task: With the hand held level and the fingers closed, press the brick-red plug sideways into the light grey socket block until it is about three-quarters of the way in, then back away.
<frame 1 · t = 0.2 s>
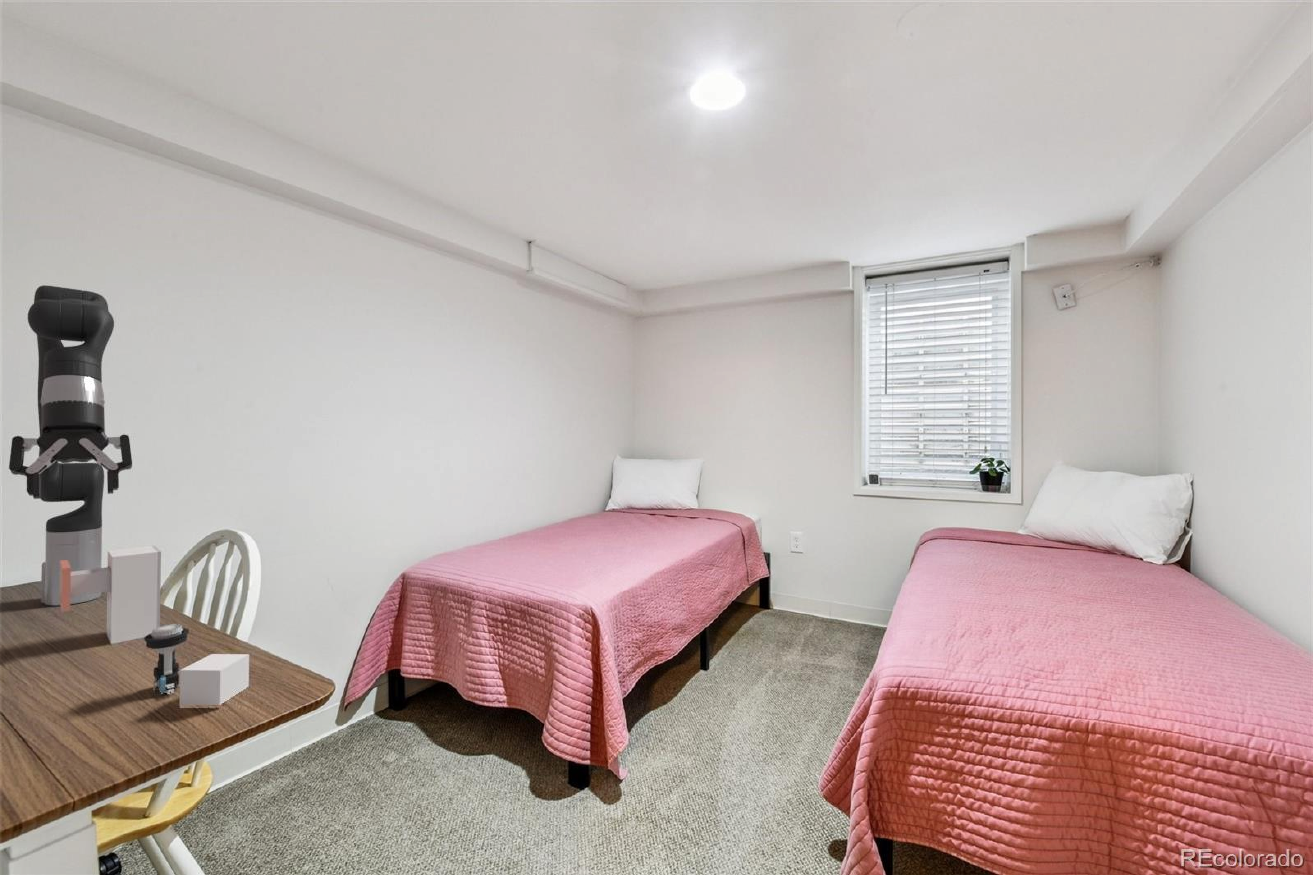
hand: (74, 495, 91), 31 cm above the table, tool tilted 20°, fingers open, 8 cm apart
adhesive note: (215, 701, 84), on the table
socket block: (108, 638, 107), on the table
plug: (89, 581, 105), point 12 cm above the table, slide at 0.0 cm
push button: (166, 691, 87), on the table
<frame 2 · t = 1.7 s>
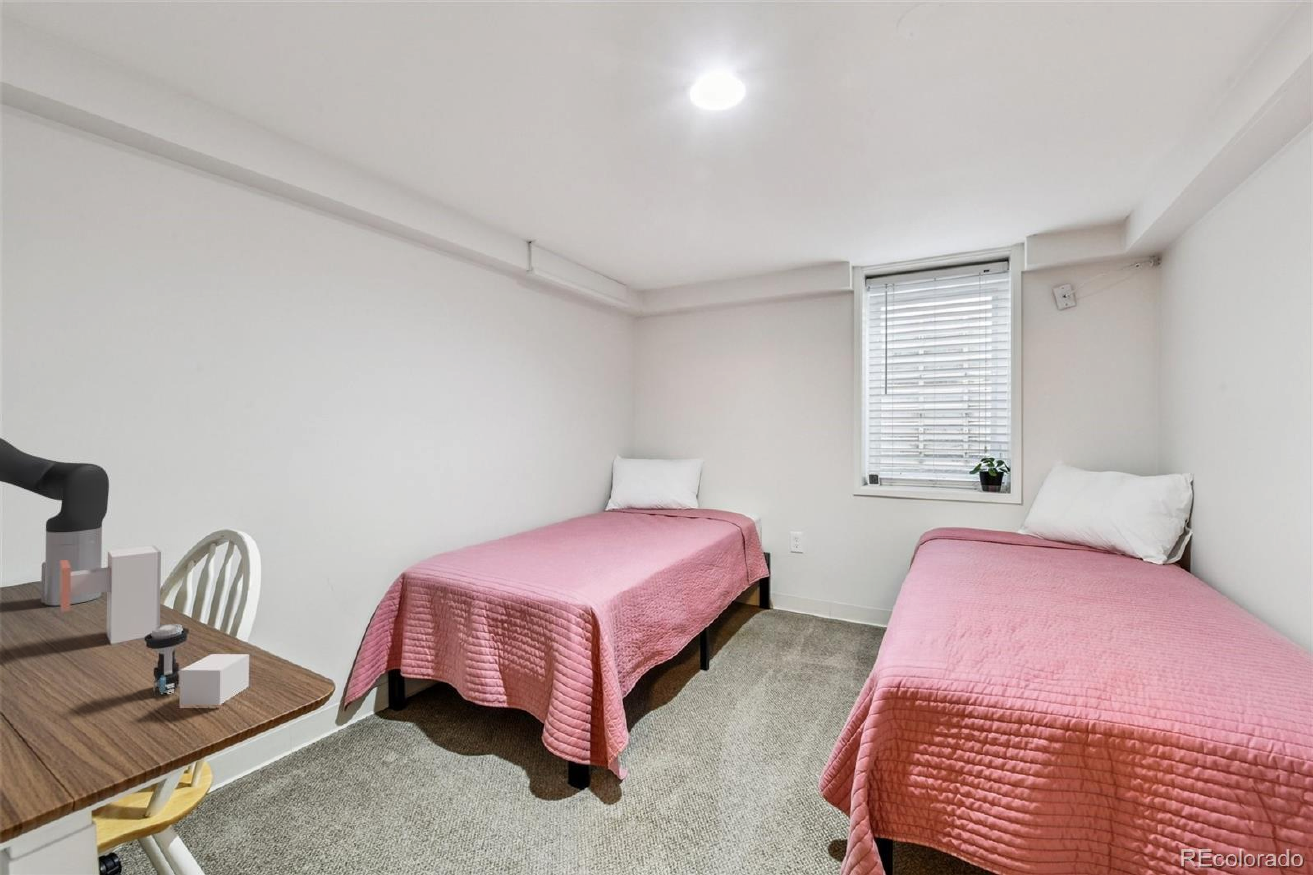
nothing on the table moved.
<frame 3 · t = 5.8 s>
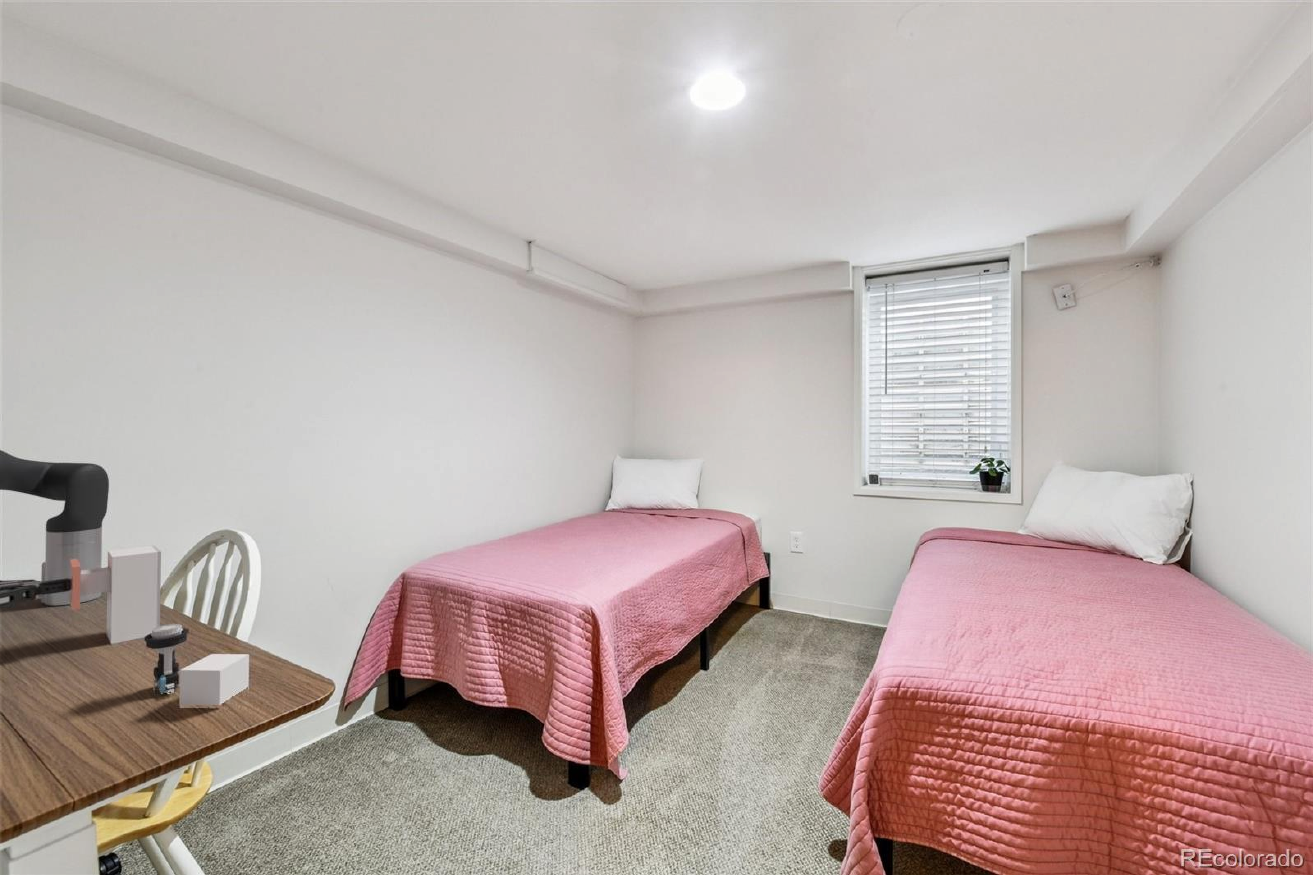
hand: (70, 584, 103), 12 cm above the table, tool horizontal, fingers closed
plug: (99, 580, 106), point 12 cm above the table, slide at 1.3 cm, touching gripper
everything else where it was.
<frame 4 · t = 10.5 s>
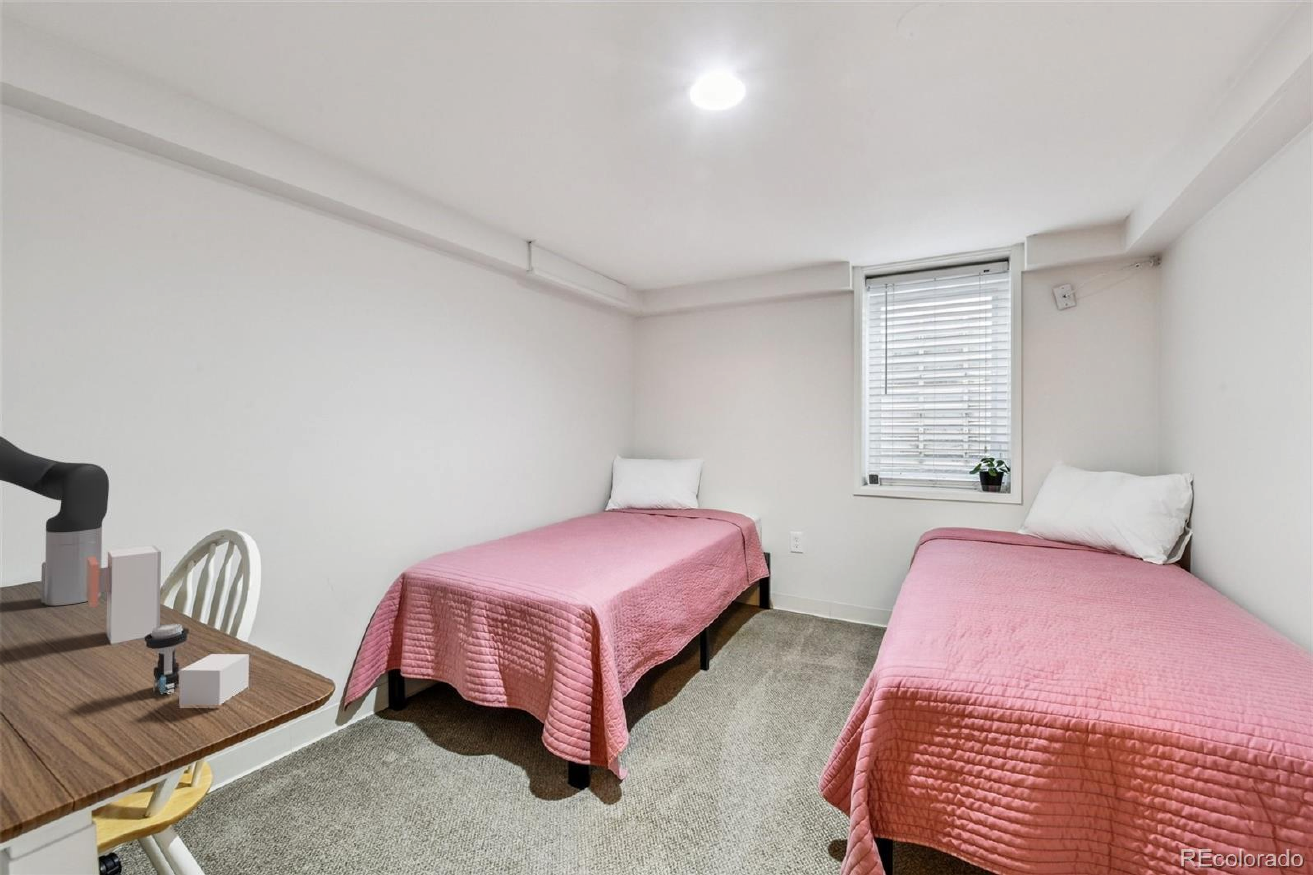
plug: (115, 578, 107), point 12 cm above the table, slide at 3.6 cm
everything else where it was.
at the end: plug slide at 3.6 cm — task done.
